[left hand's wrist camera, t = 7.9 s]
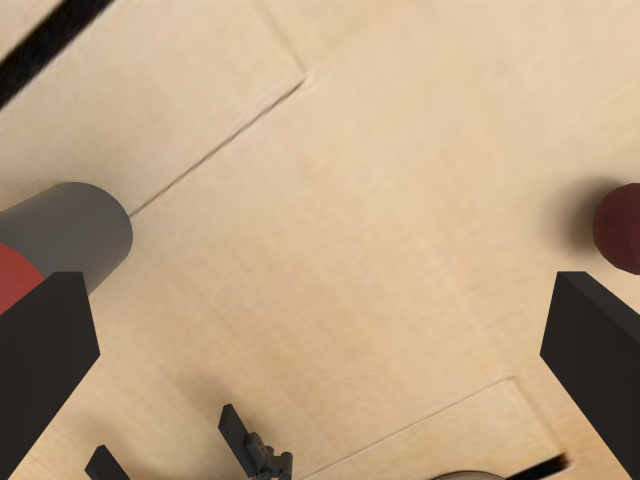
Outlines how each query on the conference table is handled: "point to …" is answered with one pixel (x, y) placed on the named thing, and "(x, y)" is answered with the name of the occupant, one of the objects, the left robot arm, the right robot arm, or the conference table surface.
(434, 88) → the conference table surface
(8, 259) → the lid
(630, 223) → the dark red ball
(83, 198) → the jar
